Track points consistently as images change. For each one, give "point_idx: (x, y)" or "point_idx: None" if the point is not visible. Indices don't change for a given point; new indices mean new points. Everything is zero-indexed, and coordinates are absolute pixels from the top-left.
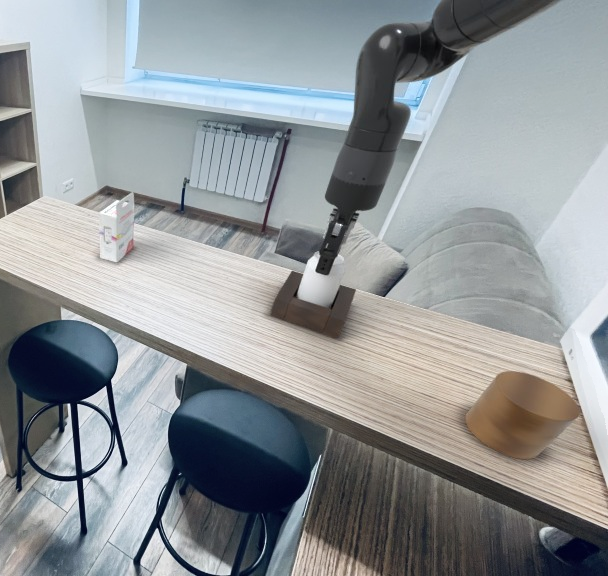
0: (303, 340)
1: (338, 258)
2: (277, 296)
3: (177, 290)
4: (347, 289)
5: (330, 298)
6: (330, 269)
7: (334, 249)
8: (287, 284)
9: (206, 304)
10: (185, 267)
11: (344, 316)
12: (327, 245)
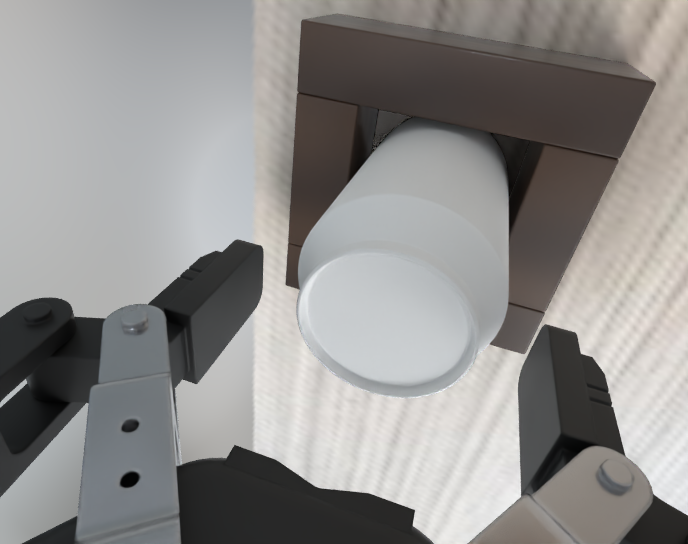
0: (669, 201)
1: (360, 275)
2: (505, 345)
3: (472, 504)
4: (325, 66)
5: (491, 168)
6: (579, 360)
7: (249, 281)
8: None
9: (519, 454)
10: (351, 481)
11: (600, 84)
12: (241, 325)
